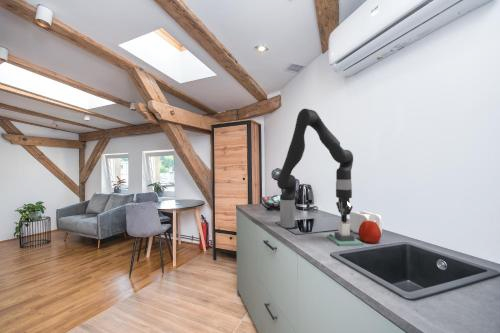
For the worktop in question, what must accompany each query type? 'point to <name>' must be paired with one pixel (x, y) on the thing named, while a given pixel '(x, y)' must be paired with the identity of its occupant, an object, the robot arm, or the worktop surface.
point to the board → (344, 240)
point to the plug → (344, 228)
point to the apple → (369, 232)
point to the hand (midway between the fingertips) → (344, 222)
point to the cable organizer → (358, 218)
